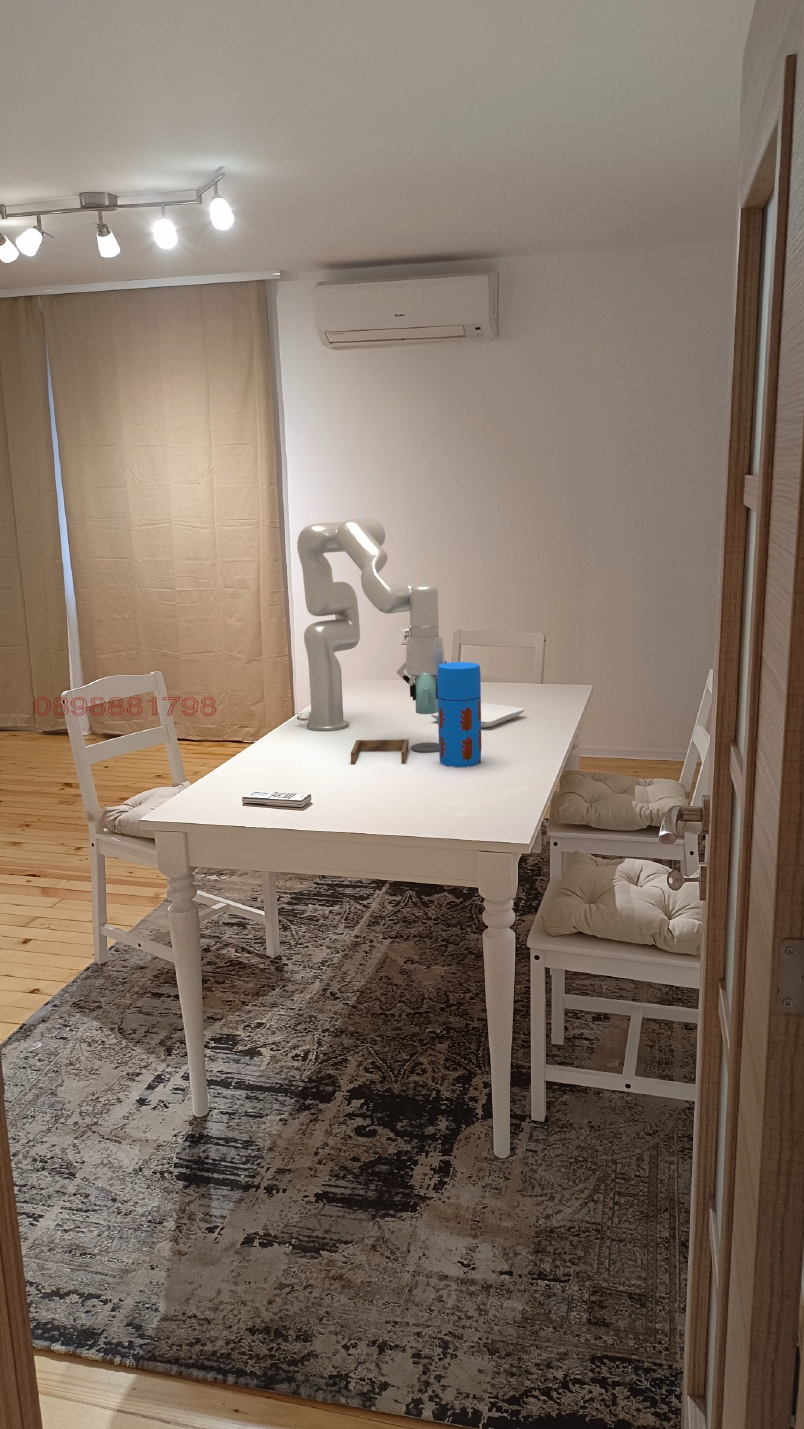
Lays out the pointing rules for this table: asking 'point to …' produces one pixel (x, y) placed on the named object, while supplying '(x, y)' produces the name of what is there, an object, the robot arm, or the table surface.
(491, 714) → the salad plate
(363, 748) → the holder
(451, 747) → the thermos
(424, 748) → the coaster
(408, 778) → the table surface
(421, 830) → the table surface
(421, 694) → the teal mug
